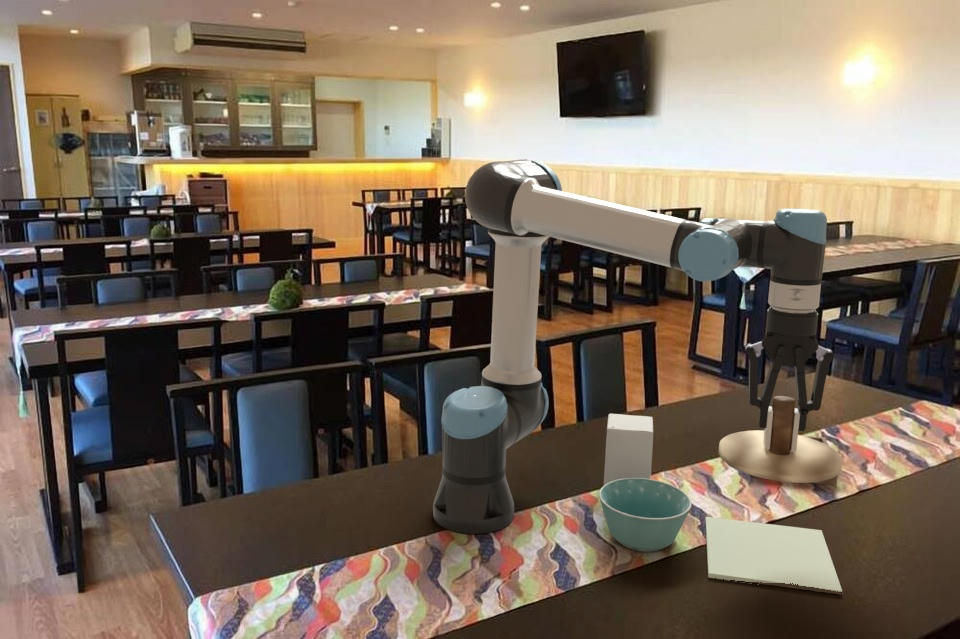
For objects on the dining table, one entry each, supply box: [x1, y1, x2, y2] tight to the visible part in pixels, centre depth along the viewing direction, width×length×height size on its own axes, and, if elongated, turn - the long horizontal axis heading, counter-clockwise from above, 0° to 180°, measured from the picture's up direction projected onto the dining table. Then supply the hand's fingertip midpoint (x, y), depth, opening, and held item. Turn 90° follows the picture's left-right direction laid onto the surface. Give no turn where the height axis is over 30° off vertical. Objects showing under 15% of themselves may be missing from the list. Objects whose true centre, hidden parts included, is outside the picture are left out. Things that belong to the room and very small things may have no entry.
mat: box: [705, 516, 843, 593], centre depth 136 cm, size 20×20×1 cm
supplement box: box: [603, 413, 654, 486], centre depth 157 cm, size 9×9×15 cm
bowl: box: [598, 478, 692, 553], centre depth 140 cm, size 16×16×8 cm
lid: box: [718, 395, 843, 484], centre depth 130 cm, size 19×19×10 cm
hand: (779, 447), depth 131 cm, fingers closed on lid, 3 cm apart
